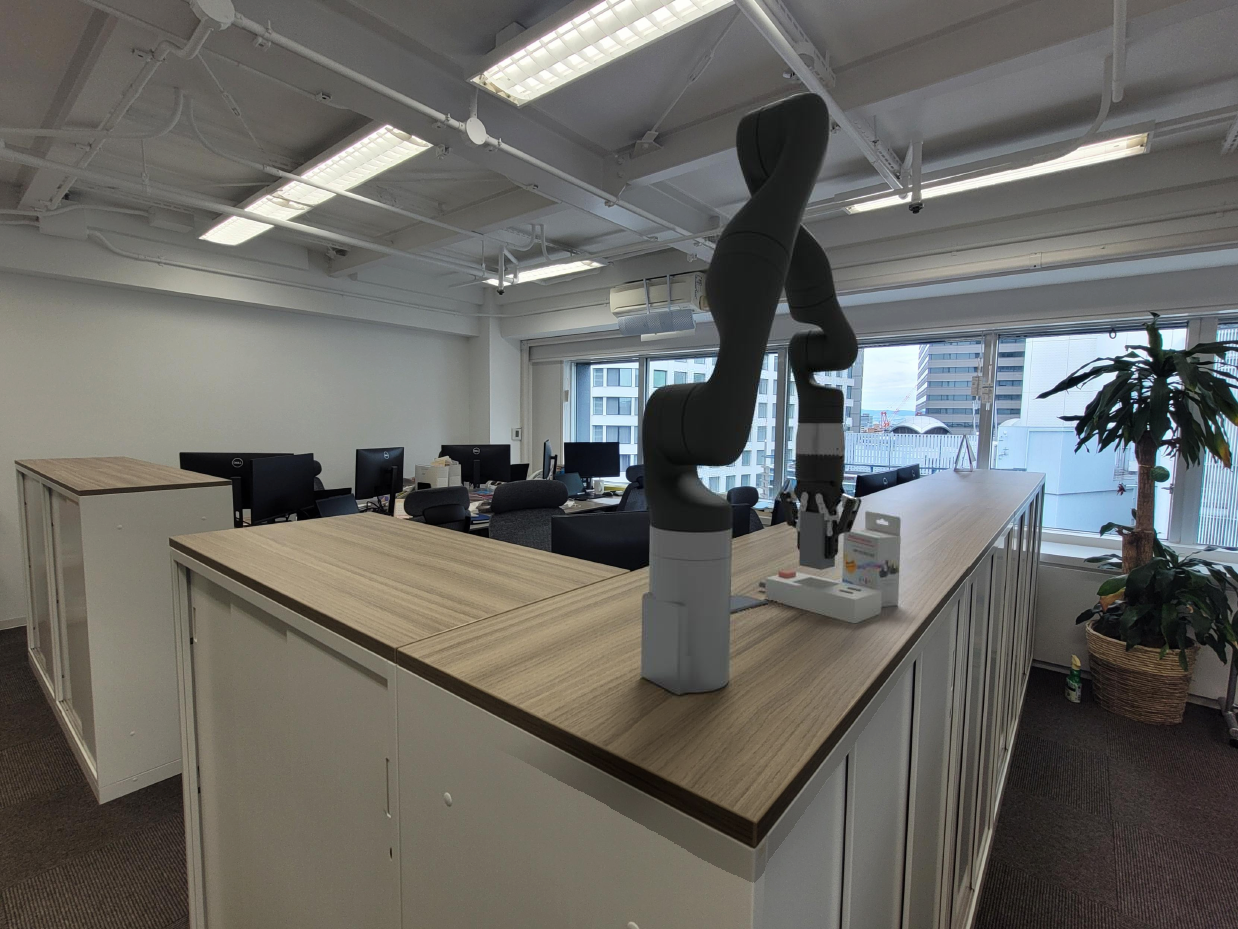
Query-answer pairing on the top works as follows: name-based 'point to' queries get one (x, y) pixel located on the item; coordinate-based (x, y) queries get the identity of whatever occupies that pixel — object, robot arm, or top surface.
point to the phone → (744, 603)
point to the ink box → (874, 556)
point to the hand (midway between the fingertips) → (817, 555)
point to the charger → (813, 541)
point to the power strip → (823, 596)
